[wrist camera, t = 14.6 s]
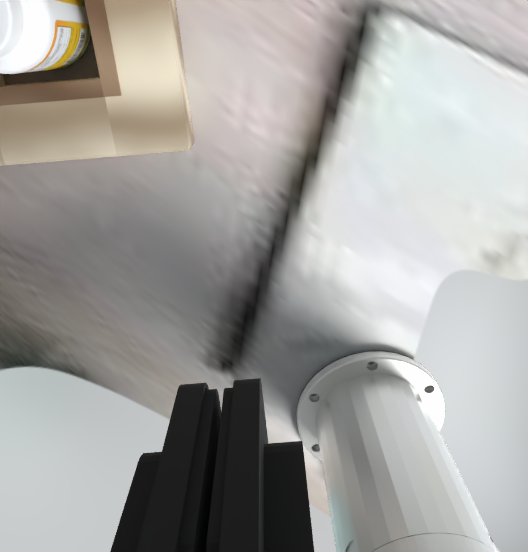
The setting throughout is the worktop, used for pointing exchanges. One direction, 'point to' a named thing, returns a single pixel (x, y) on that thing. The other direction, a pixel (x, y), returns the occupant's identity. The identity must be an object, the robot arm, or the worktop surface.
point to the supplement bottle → (42, 34)
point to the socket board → (106, 93)
